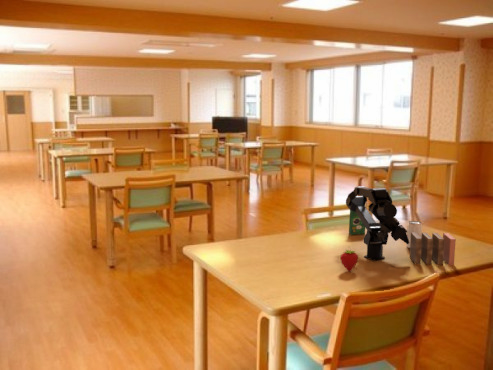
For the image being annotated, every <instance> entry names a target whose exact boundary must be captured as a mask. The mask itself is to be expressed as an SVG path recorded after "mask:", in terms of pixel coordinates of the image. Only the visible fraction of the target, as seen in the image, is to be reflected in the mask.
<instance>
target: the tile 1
mask: <svg viewBox="0 0 493 370" xmlns="http://www.w3.org/2000/svg"><path fill="white" fill-rule="evenodd" d="M421 244H422V238H421V237H420V236H419V235H418V234H417V233H416V232H411V242H410V249H409V258H410V259H411V260H412V262H413V263H414V264H415V265H421V262H422V261H421V260H422V259H421Z"/></svg>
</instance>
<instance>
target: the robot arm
mask: <svg viewBox="0 0 493 370" xmlns="http://www.w3.org/2000/svg"><path fill="white" fill-rule="evenodd" d="M367 201H369V202H370V204H369V205H368V208H367V207H366V204H367ZM345 205H346V207H347V208H348V210H349V211H350V210H351V211H353V212H356V213H357V215H358V217H359V218H360V220H361V221H362V223H363V224H364V226H365V230H366V232H365V234H364V237H363V239H362V240H363V244H365V245H366V247H367V248H366V254H365V255H364V256H363V257H364V258H366V259H369V260H373V261H379V260H384V259H386V257H385V256H384V254H383V252H384V249H383V248H384V246H383V245H385V246H386V245H387V244H388V239H389V234H390V236H391V238H392V239H393V240H394V241H395V242H397V241H399V240H401V241H403V242H404V243H405V244H406V245H407V244H408V243H409V240H408V237H407V229H406V228H405V227H404V226H403V225H402V224H401V223H400V221H399V220H398V219H397V218H396V215H397V213H398V208H397V207H396V206H395V204H393V199H392V197H391V195H390V193H389V191H388V189H387V188H386V187H385V188H383V187H380V188H371V187H367V186H362V185H360V186H355V187H354V189H353V190H352V191H351V192H350V193H348V194H347V197H346V200H345ZM372 215H373V216H374V217H373V216H372ZM374 218H376V220H377V221H378V222H376V220H375V219H374Z"/></svg>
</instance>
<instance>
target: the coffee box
mask: <svg viewBox="0 0 493 370" xmlns="http://www.w3.org/2000/svg"><path fill="white" fill-rule="evenodd" d="M348 223H349V225H348V235H350V236H356V235H355V234H359V235H361V234H362V235H366V228H365V226H364V224H363V223H362V221H361V220H360V218H359V217H358V215H357V213H356V212H353V211H351V210H350V209H349V222H348Z"/></svg>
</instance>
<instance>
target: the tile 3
mask: <svg viewBox="0 0 493 370" xmlns="http://www.w3.org/2000/svg"><path fill="white" fill-rule="evenodd" d="M431 237H432V238H433V248H432V261H433V262H434V263H436V264H437V265H439V266H442V265H444V264H443V263H444V259H443V253H444V238H443V236H442V235H440V234H439V233H438V232H432V233H431Z"/></svg>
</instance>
